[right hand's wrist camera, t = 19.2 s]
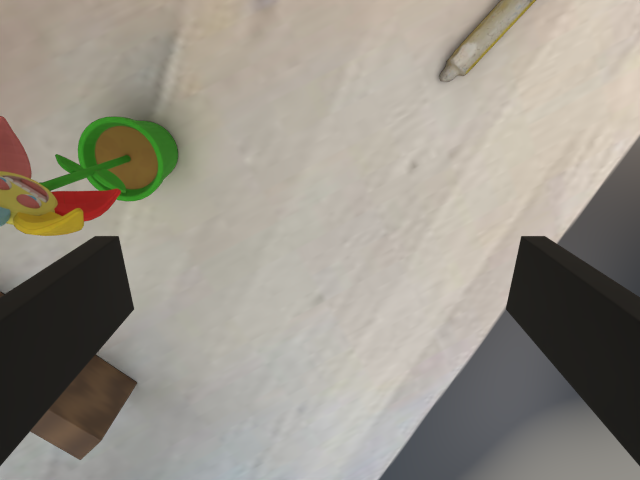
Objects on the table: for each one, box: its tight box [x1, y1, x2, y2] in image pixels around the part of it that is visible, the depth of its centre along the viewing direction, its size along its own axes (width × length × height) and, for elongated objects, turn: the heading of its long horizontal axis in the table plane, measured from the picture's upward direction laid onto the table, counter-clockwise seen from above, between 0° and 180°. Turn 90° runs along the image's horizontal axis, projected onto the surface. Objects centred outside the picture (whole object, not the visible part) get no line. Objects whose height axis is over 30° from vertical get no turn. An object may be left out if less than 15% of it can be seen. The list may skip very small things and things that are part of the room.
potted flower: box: [0, 116, 178, 236], centre depth 29 cm, size 9×8×25 cm
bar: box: [0, 292, 137, 460], centre depth 46 cm, size 26×5×10 cm, turn 45°
